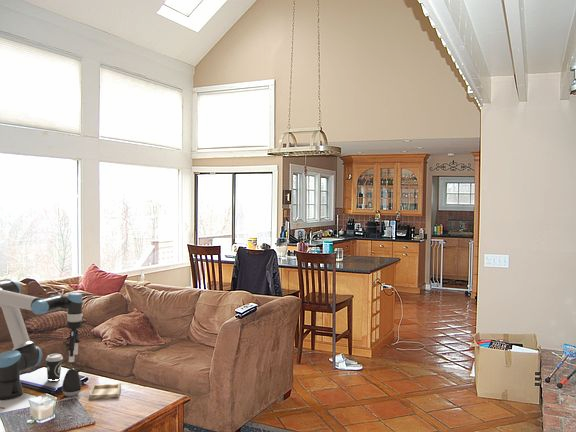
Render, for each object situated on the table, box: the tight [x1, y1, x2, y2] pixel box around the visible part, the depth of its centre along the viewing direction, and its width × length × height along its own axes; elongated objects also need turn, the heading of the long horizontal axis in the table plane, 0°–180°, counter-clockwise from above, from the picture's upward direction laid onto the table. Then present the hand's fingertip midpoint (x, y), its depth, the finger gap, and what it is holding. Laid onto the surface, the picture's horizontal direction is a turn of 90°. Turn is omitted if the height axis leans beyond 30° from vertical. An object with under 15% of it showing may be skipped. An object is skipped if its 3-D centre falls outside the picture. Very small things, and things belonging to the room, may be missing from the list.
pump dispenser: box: [61, 367, 83, 398], centre depth 292 cm, size 10×10×15 cm
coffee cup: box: [45, 353, 64, 380], centre depth 313 cm, size 10×10×15 cm
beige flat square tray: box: [88, 383, 122, 401], centre depth 297 cm, size 16×16×2 cm
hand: (73, 358), depth 292 cm, fingers open, 13 cm apart
